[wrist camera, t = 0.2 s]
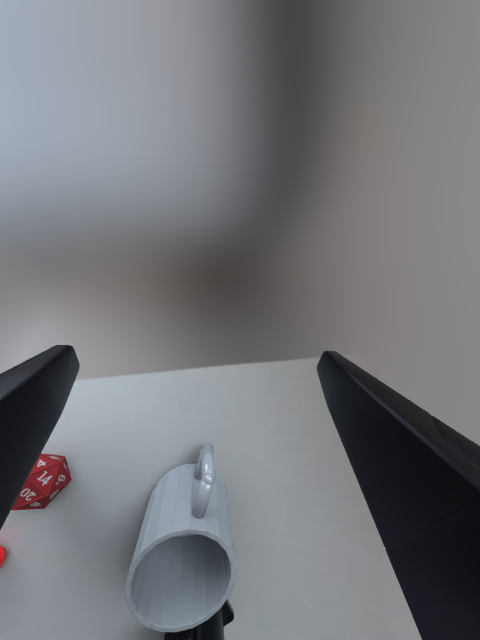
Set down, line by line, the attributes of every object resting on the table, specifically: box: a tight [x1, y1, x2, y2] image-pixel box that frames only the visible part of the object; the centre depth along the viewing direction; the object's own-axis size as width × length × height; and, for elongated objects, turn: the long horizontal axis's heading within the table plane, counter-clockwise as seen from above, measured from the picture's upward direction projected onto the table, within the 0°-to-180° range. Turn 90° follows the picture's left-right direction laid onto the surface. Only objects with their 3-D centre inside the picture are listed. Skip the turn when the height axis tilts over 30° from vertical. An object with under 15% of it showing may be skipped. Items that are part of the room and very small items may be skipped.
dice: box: [11, 454, 71, 510], centre depth 19 cm, size 4×4×4 cm
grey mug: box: [125, 443, 236, 632], centre depth 20 cm, size 11×8×7 cm
